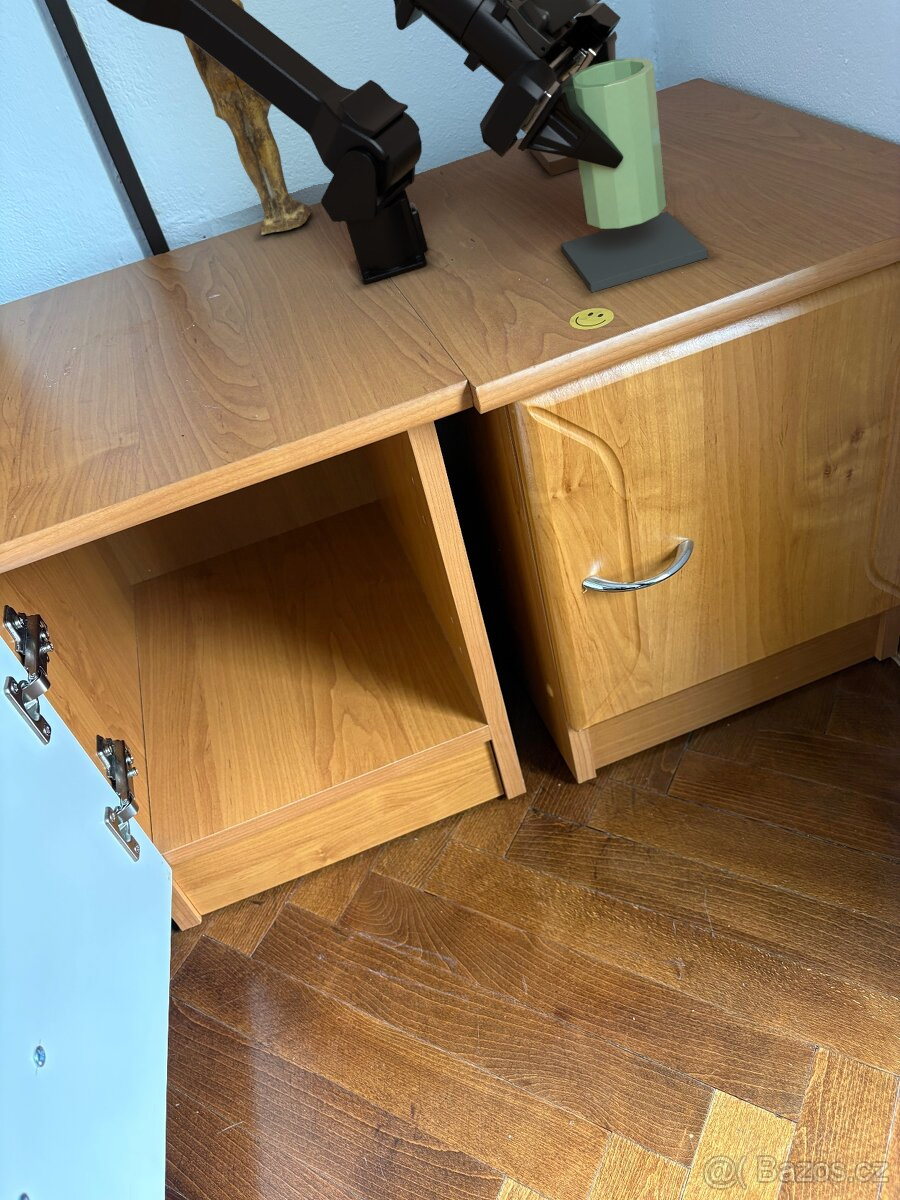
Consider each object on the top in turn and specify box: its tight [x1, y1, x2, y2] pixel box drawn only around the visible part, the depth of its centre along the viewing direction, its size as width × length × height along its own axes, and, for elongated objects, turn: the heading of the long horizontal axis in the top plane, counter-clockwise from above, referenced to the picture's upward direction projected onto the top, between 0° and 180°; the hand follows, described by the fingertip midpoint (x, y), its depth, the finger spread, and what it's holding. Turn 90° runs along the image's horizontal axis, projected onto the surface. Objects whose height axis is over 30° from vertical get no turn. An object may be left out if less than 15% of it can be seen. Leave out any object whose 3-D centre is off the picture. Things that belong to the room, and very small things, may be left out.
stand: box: [529, 150, 578, 177], centre depth 109 cm, size 10×10×6 cm
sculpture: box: [183, 0, 313, 236], centre depth 105 cm, size 7×6×30 cm
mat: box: [560, 211, 708, 293], centre depth 87 cm, size 10×10×1 cm
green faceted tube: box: [572, 57, 667, 230], centre depth 82 cm, size 7×7×11 cm
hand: (633, 146), depth 81 cm, fingers closed on green faceted tube, 7 cm apart
